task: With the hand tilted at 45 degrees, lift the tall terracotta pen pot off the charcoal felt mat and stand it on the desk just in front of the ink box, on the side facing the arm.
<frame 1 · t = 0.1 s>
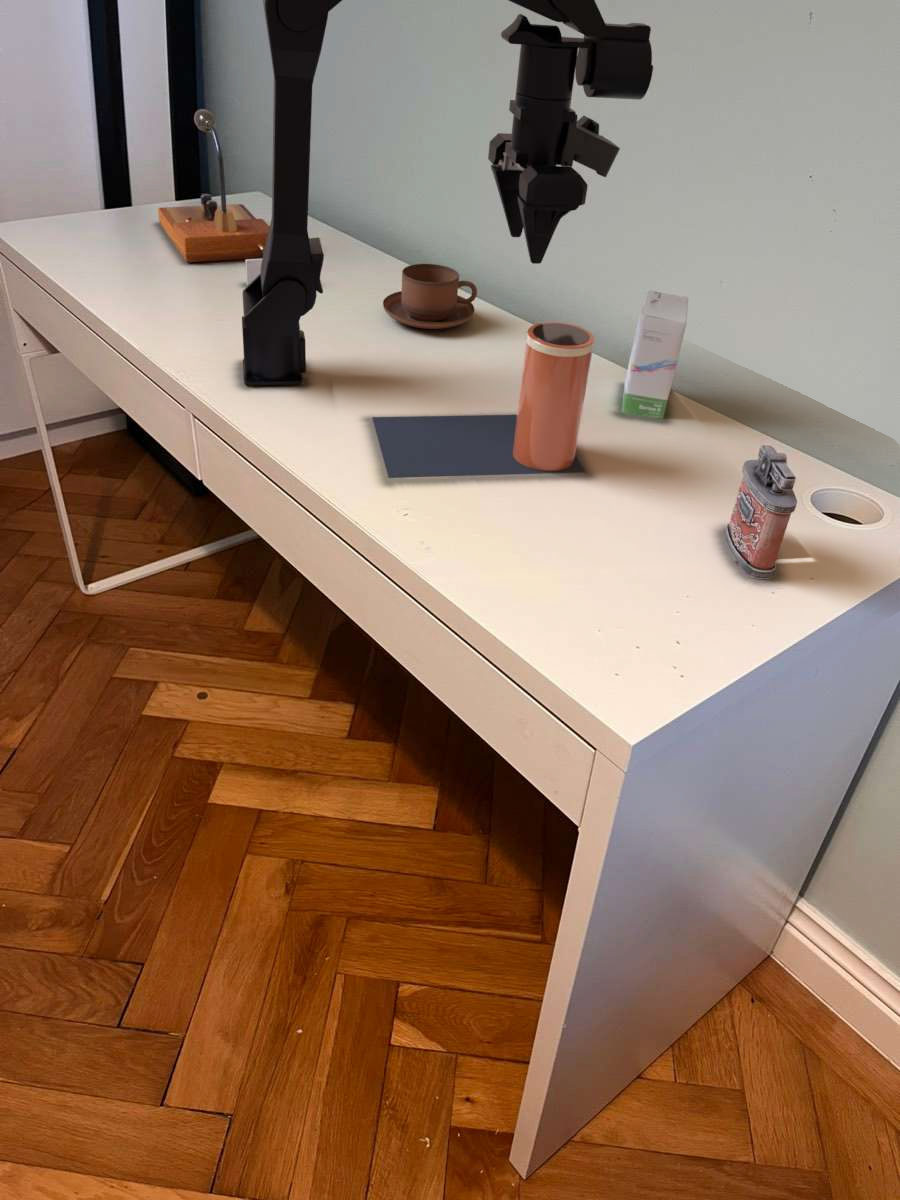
hand: (525, 249, 110), 15 cm above the table, tool pointing down, fingers open, 9 cm apart
felt mat: (475, 447, 103), on the table
lighter: (747, 555, 90), on the table
ink box: (644, 405, 115), on the table
pen pot: (543, 456, 102), resting on felt mat
wooden scientific apparatus: (225, 252, 147), on the table
cup and saucer: (427, 320, 131), on the table
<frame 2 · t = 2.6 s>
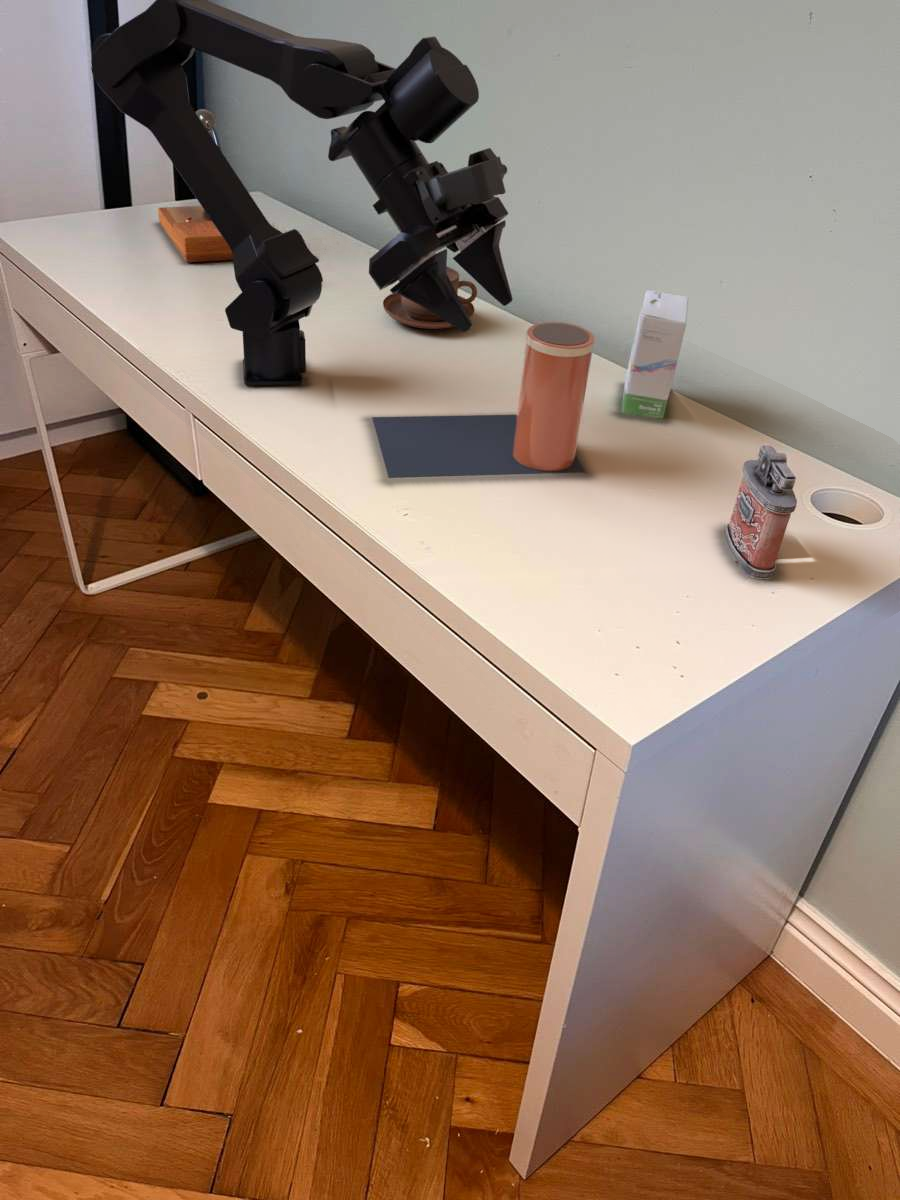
hand: (489, 316, 97), 13 cm above the table, tool tilted 45°, fingers open, 9 cm apart
nothing on the table moved.
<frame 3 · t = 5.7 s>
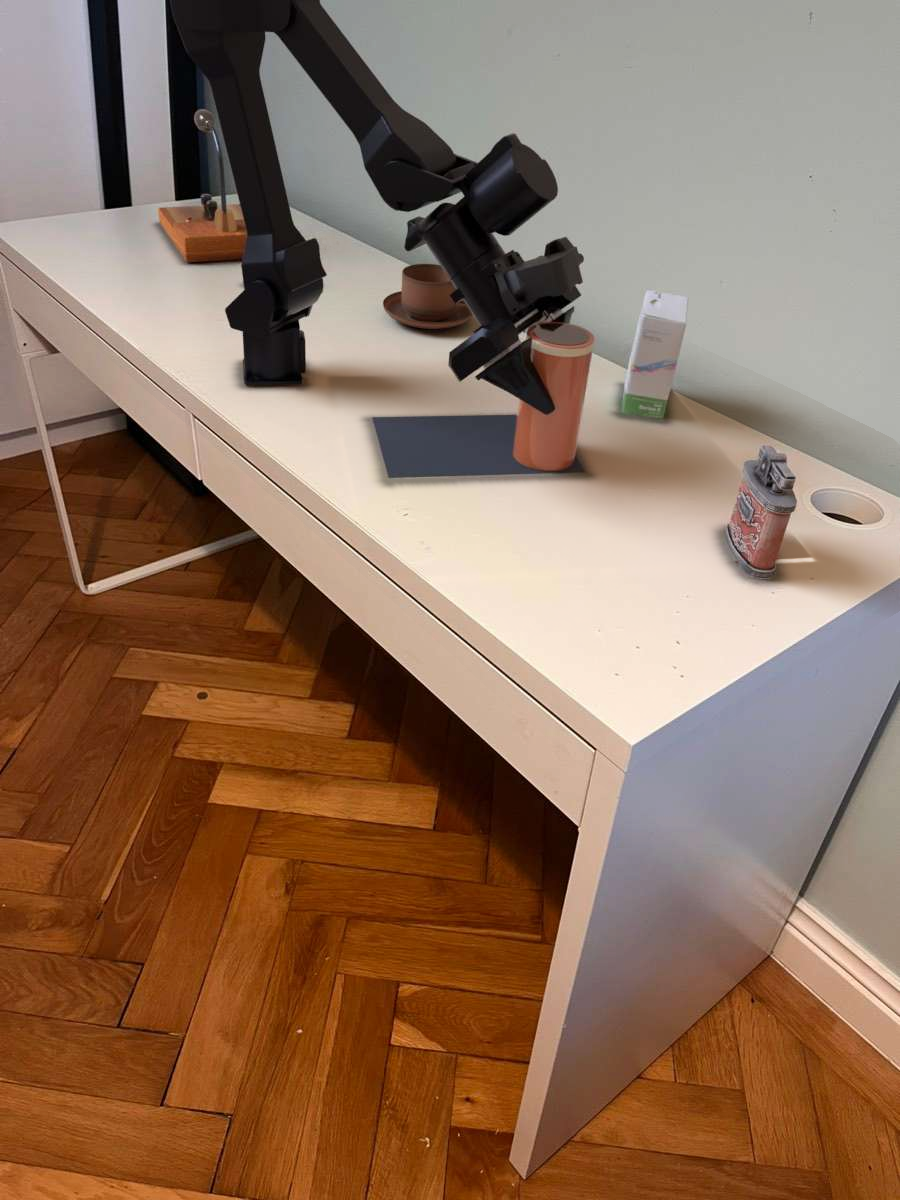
hand: (564, 400, 97), 7 cm above the table, tool tilted 45°, fingers closed on pen pot, 6 cm apart
pen pot: (543, 455, 102), resting on felt mat, touching gripper
everything else where it was.
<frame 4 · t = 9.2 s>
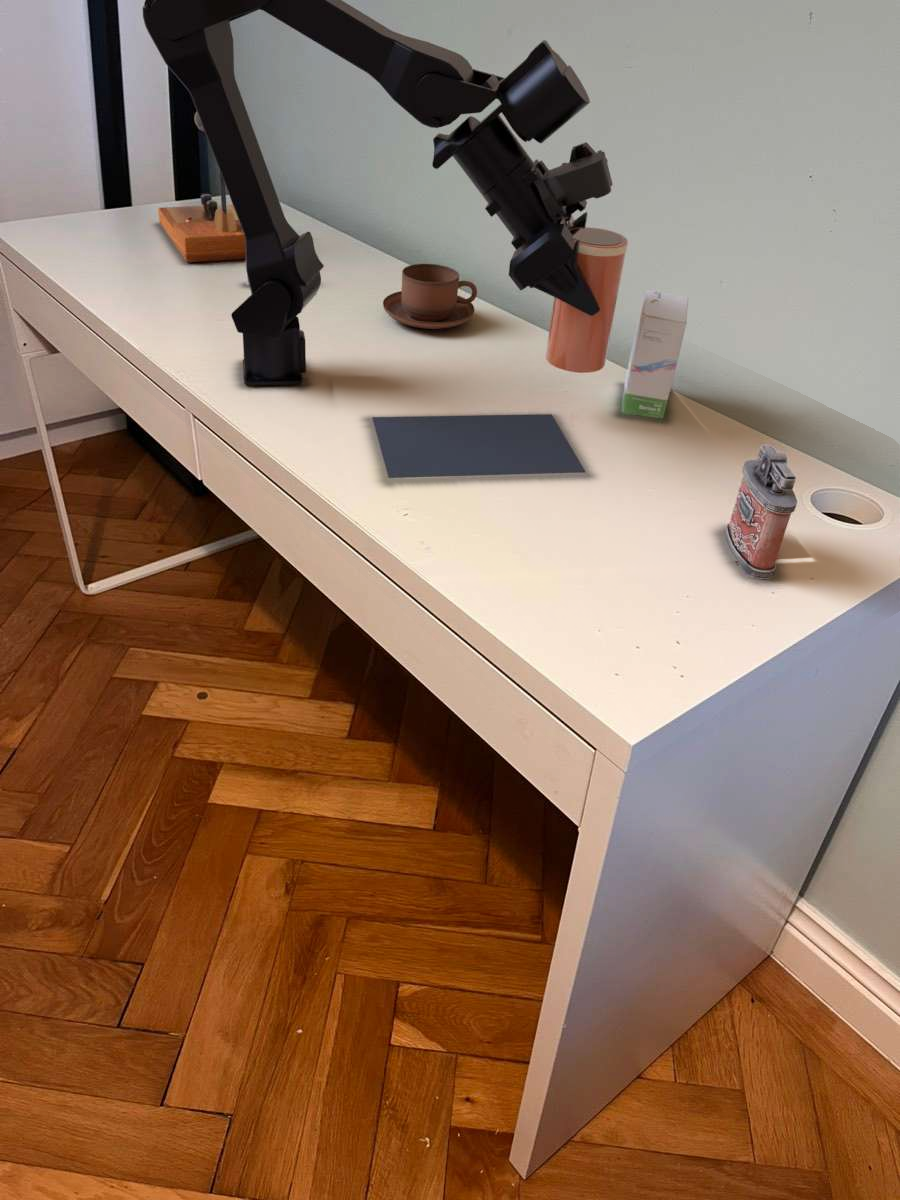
hand: (598, 301, 102), 13 cm above the table, tool tilted 45°, fingers closed on pen pot, 6 cm apart
pen pot: (575, 360, 106), point 7 cm above the table, touching gripper
everything else where it was.
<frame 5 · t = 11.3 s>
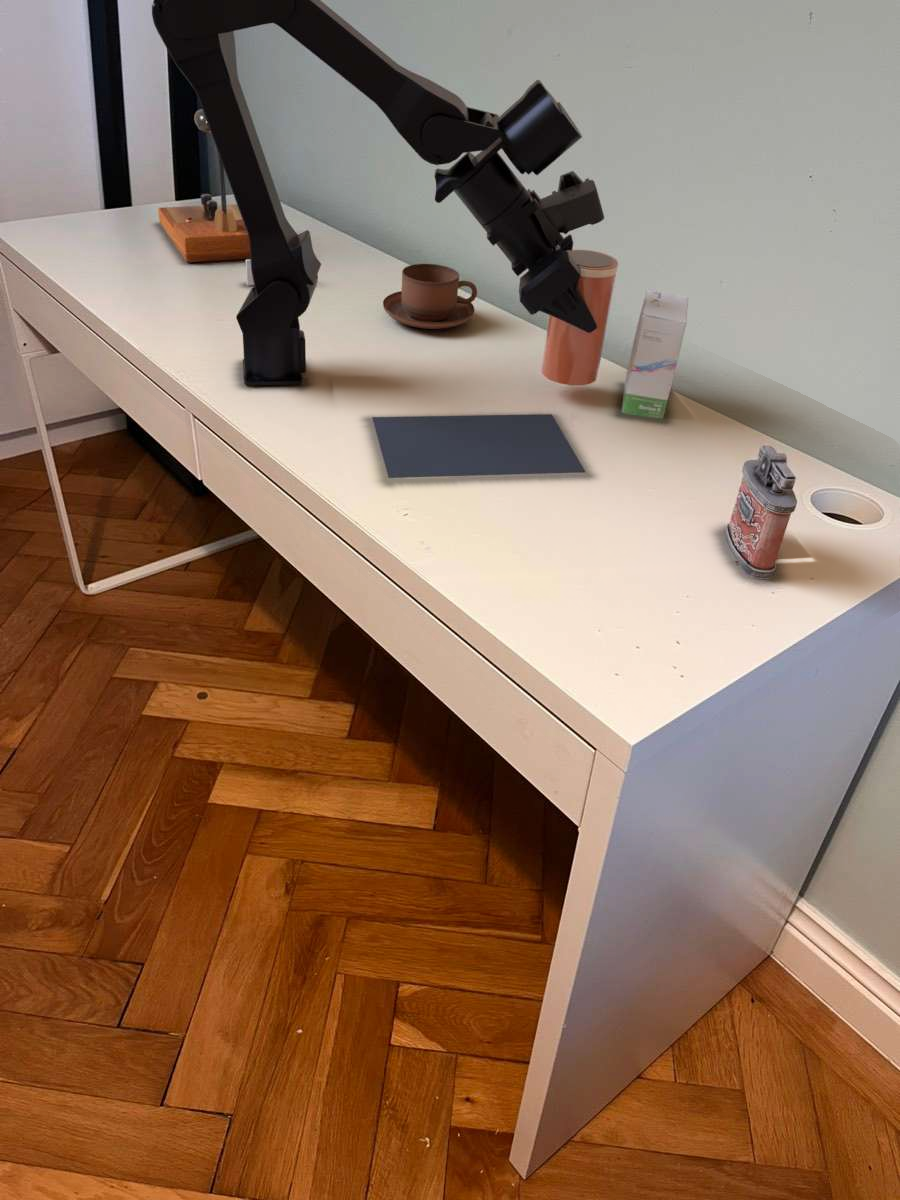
hand: (590, 318, 109), 10 cm above the table, tool tilted 45°, fingers closed on pen pot, 6 cm apart
pen pot: (569, 373, 113), point 3 cm above the table, touching gripper
everything else where it was.
when the fingers open (7 cm above the table, at t = 12.7 s): pen pot stays where it is, on the table.
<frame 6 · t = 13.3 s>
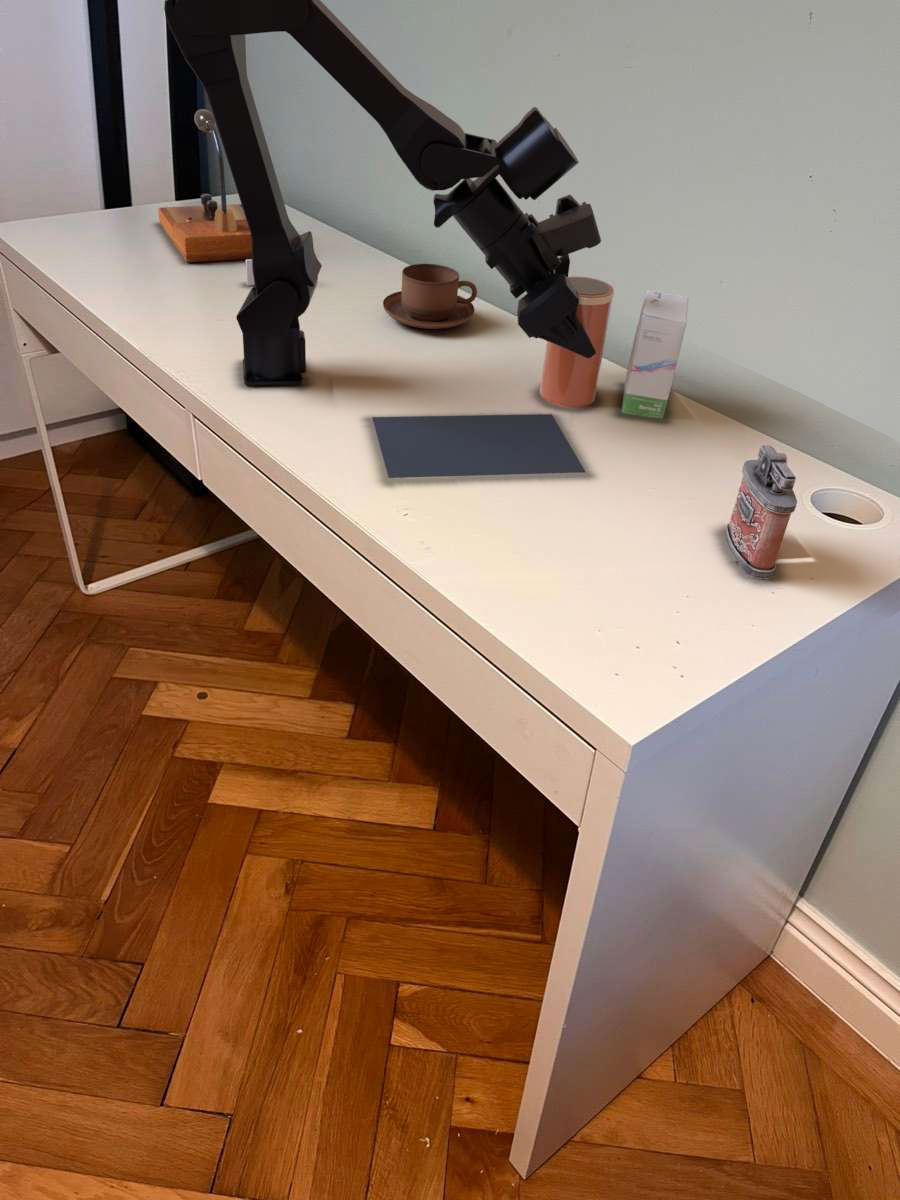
hand: (588, 339, 110), 7 cm above the table, tool tilted 45°, fingers open, 9 cm apart
pen pot: (566, 397, 115), on the table
everything else where it was.
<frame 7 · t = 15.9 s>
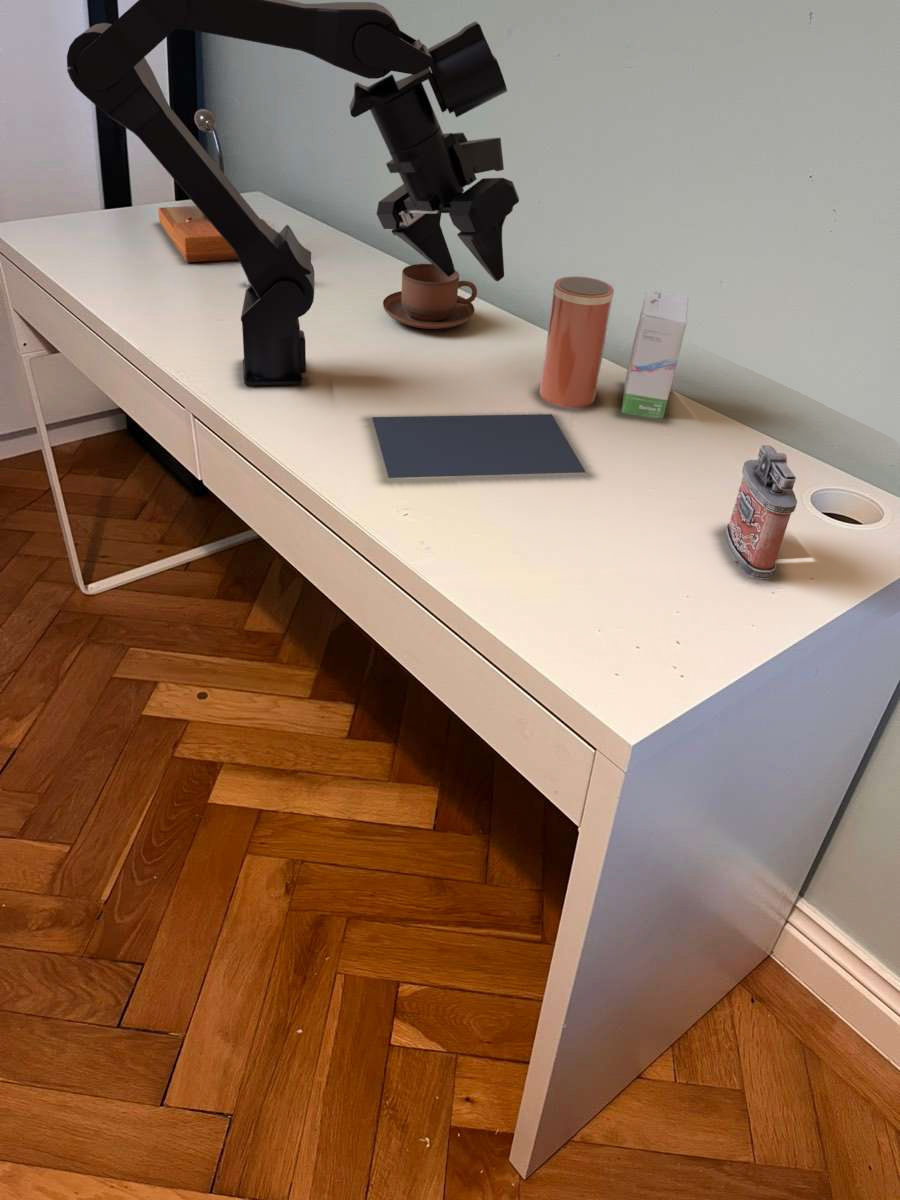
hand: (474, 276, 109), 12 cm above the table, tool tilted 30°, fingers open, 9 cm apart
nothing on the table moved.
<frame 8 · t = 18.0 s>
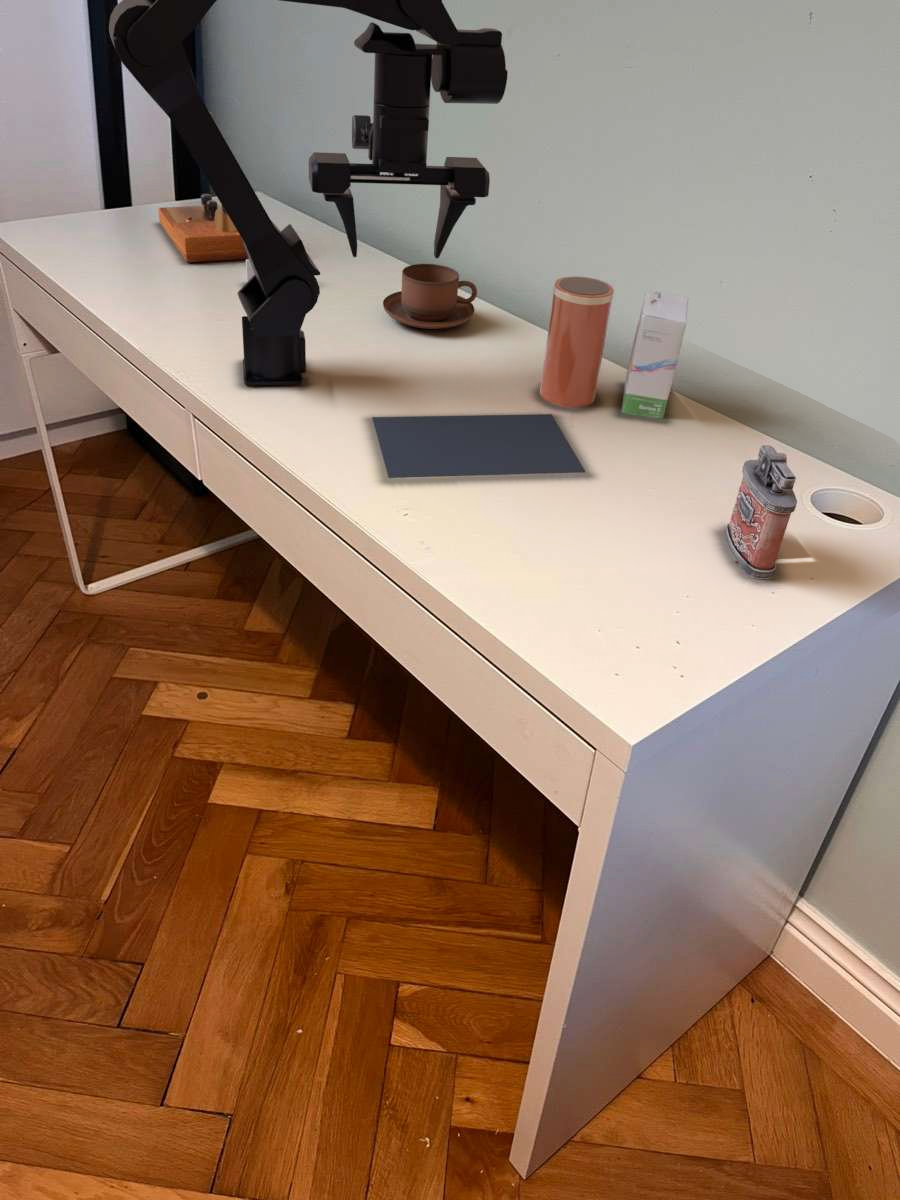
hand: (395, 256, 110), 13 cm above the table, tool pointing down, fingers open, 9 cm apart
nothing on the table moved.
at the end: pen pot inside the target area on the table beside the ink box (0.4 cm from its centre), on the table; pen pot tilted 0°; pen pot touching table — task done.
